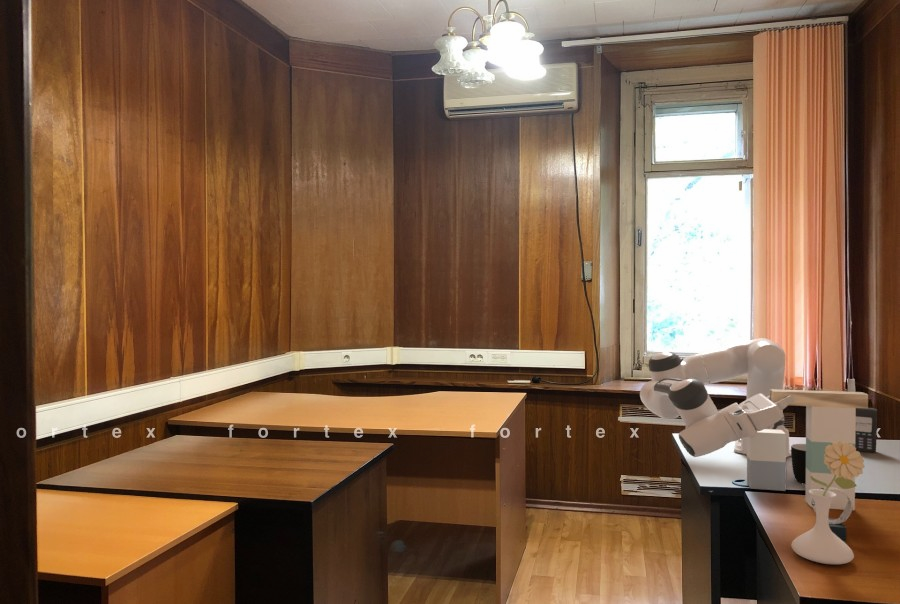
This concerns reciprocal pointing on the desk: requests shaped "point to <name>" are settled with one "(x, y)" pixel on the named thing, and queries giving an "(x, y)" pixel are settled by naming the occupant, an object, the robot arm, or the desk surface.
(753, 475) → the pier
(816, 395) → the batten
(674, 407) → the robot arm
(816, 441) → the tower
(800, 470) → the mug
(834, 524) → the watch
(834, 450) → the flower in vase
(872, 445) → the card reader
